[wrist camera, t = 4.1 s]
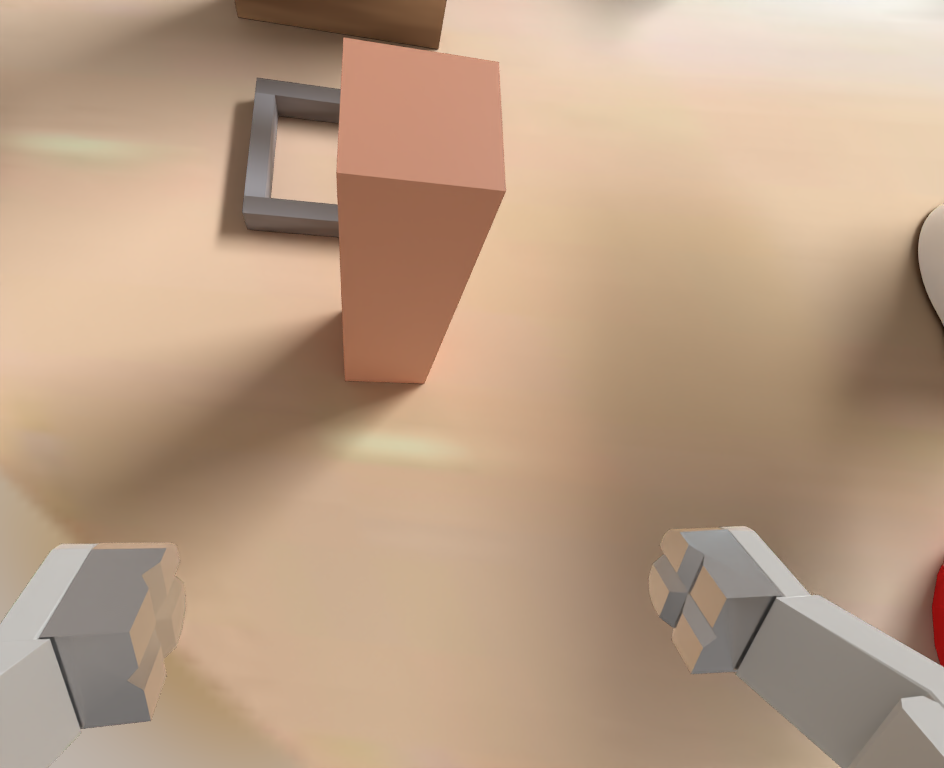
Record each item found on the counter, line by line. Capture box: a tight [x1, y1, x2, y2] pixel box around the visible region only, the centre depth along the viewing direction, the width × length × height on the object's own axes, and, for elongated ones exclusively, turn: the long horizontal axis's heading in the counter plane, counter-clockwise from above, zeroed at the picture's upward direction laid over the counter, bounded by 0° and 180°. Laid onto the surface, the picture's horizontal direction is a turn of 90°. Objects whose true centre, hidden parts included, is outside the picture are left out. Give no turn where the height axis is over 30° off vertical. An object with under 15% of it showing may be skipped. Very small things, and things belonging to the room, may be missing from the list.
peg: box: [336, 37, 506, 383], centre depth 21 cm, size 4×4×16 cm
